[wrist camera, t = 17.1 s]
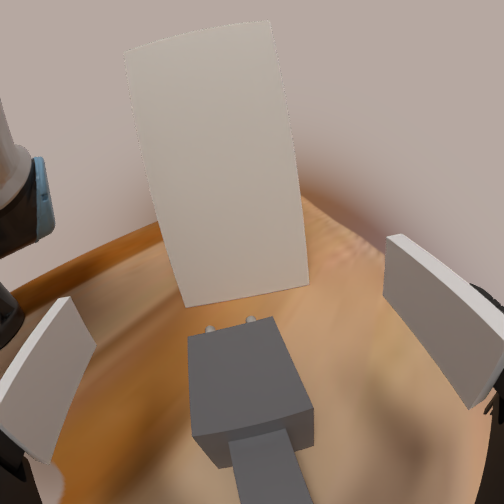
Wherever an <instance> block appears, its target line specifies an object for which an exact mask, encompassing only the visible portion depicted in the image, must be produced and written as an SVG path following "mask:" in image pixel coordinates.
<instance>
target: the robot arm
mask: <svg viewBox="0 0 504 504" xmlns="http://www.w3.org/2000/svg"><path fill="white" fill-rule="evenodd" d="M54 228H55V218H54V212H53V207H52V202H51V196H50V191H49V185H48V180H47V174H46V168H45V162H44V159H43V158H42V157H34V158H33V159H31V156H30V154H29V152H28V150H27V149H26V148H25V147H23V146H21V145H14V142H13V139H12V136H11V133H10V130H9V127H8V124H7V121H6V118H5V114H4V110H3V107H2V103H1V99H0V259H2V258H4V257H6V256H8V255H10V254H12V253H14V252H16V251H18V250H20V249H22V248H24V247H26V246H28V245H31V244H33V243H36V242H38V241H39V239H41V238H43V237H45V236H47V235H49V234H50V233H52V231H53V230H54ZM383 296H384V298H385V299H386V300H387V301H388V302H389V304H390V305H391V306H392V307H393V308H394V310H395V311H396V312H397V313H398V315H399V316H400V317H401V318H402V320H403V321H404V322H405V323H406V325H407V326H408V327H409V328H410V330H411V331H412V332H413V333H414V335H415V336H416V337H417V339H418V340H419V341H420V343H421V344H422V345H423V346H424V348H425V349H426V350H427V352H428V353H429V354H430V356H431V357H432V358H433V360H434V361H435V363H436V364H437V365H438V367H439V368H440V369H441V371H442V372H443V374H444V375H445V376H446V378H447V379H448V381H449V382H450V384H451V385H452V386H453V388H454V389H455V391H456V392H457V394H458V395H459V397H460V398H461V400H462V401H463V403H464V404H465V406H466V407H467V409H468V410H470V409H471V408H473V407H474V406H476V405H477V404H479V403H480V402H482V401H483V400H484V399H485V398H486V397H487V395H488V394H489V392H490V391H491V389H492V388H493V387H494V388H495V390H496V391H497V392H496V394H495V395H494V397H493V398H492V400H491V401H490V403H489V404H488V405H487V407H486V408H485V411H484V414H487V413H488V411H489V410H490V409H491V407H492V406H493V410H492V411H491V413H490V415H492V423H491V432H490V439H489V446H488V452H487V457H486V462H485V467H484V471H483V476H482V480H481V483H480V487H479V491H478V494H477V498H476V501H475V504H504V307H503V306H501V305H500V303H499V302H498V301H497V300H495V299H493V297H492V296H491V295H490V294H488V293H487V292H486V291H485V290H483V289H482V288H480V287H478V286H476V285H473V284H471V283H470V284H468V283H467V282H466V281H465V280H464V279H462V278H461V277H460V276H459V275H457V274H456V273H455V272H454V271H452V270H451V269H449V268H448V267H447V266H446V265H444V264H443V263H442V262H441V261H439V260H438V259H437V258H435V257H434V256H433V255H431V254H430V253H428V252H427V251H426V250H424V249H423V248H422V247H420V246H419V245H417V244H416V243H414V242H413V241H412V240H410V239H409V238H407V237H406V236H404V235H403V234H397V235H392V236H388V237H386V255H385V272H384V285H383ZM23 319H24V312H23V310H22V308H21V307H20V305H19V303H18V301H17V300H16V299H15V298H14V297H13V296H12V295H11V294H10V293H9V291H8V290H7V289H6V288H5V287H4V286H3V285H2V283H1V282H0V349H1V348H2V347H3V346H4V345H5V344H6V343H7V342H8V341H9V340H10V339H11V338H12V337H13V336H14V334H15V333H16V332H17V331H18V329H19V328H20V326H21V324H22V322H23ZM96 346H97V345H96V343H95V341H94V340H93V338H92V336H91V334H90V333H89V331H88V329H87V327H86V326H85V324H84V322H83V320H82V318H81V316H80V314H79V313H78V311H77V309H76V307H75V305H74V303H73V301H72V299H71V297H70V296H69V297H63V298H58V299H57V301H56V302H55V303H54V304H53V306H52V307H51V308H50V309H49V311H48V312H47V313H46V315H45V316H44V317H43V319H42V320H41V321H40V322H39V324H38V325H37V327H36V328H35V329H34V331H33V332H32V333H31V335H30V336H29V338H28V339H27V340H26V342H25V343H24V345H23V346H22V348H21V349H20V351H19V352H18V353H17V355H16V356H15V358H14V360H13V361H12V363H11V364H10V366H9V367H8V369H7V370H6V372H5V374H4V375H3V377H2V379H1V380H0V504H42V501H41V498H40V495H39V493H38V490H37V487H36V484H35V481H34V477H33V474H32V471H31V467H30V464H29V461H28V459H27V458H25V457H24V456H23V455H24V452H26V453H27V454H28V455H30V456H31V457H32V458H33V459H35V460H36V461H39V462H42V463H45V464H47V465H49V464H50V461H51V458H52V455H53V452H54V449H55V446H56V443H57V440H58V437H59V434H60V431H61V428H62V426H63V423H64V420H65V418H66V415H67V412H68V410H69V407H70V405H71V402H72V400H73V397H74V395H75V393H76V390H77V388H78V385H79V383H80V381H81V378H82V376H83V374H84V372H85V369H86V367H87V365H88V363H89V361H90V359H91V356H92V354H93V352H94V350H95V348H96Z"/></svg>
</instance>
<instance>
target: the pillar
mask: <svg viewBox="0 0 504 504" xmlns="http://www.w3.org/2000/svg"><path fill="white" fill-rule="evenodd" d="M124 59H125V67H126V74H127V81H128V87H129V94H130V99H131V105H132V111H133V117H134V122H135V127H136V131H137V137H138V142H139V146H140V151H141V156H142V160H143V164H144V168H145V173H146V177H147V181H148V185H149V189H150V193H151V196H152V201H153V204H154V208H155V212H156V215H157V219H158V223H159V226H160V230H161V233H162V236H163V240H164V243H165V246H166V250H167V253H168V256H169V259H170V263H171V266H172V269H173V272H174V275H175V278H176V281H177V284H178V287H179V290H180V293H181V296H182V298H183V301H184V304H185V307H186V308H187V307H193V306H199V305H205V304H211V303H217V302H223V301H229V300H234V299H240V298H245V297H250V296H256V295H261V294H266V293H271V292H276V291H281V290H286V289H291V288H296V287H301V286H305V285H310V284H309V272H308V261H307V250H306V240H305V230H304V221H303V212H302V203H301V195H300V187H299V180H298V172H297V165H296V158H295V151H294V145H293V138H292V132H291V126H290V120H289V114H288V108H287V103H286V97H285V91H284V86H283V81H282V75H281V70H280V65H279V61H278V56H277V51H276V47H275V42H274V37H273V33H272V28H271V24H270V21H258V22H248V23H240V24H232V25H226V26H219V27H213V28H208V29H203V30H198V31H194V32H189V33H184V34H180V35H176V36H172V37H169V38H165V39H162V40H158V41H155V42H151V43H148V44H145V45H142V46H139V47H136V48H134V49H130V50H128V51H125V52H124Z"/></svg>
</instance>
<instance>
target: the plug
mask: <svg viewBox="0 0 504 504" xmlns="http://www.w3.org/2000/svg"><path fill="white" fill-rule="evenodd" d="M188 373H189V396H190V414H191V428H192V437H193V438H194V440H195V441H196V442H197V443H198V445H199V446H200V447H201V448H202V450H203V451H204V452H205V453H206V455H207V456H208V457H209V458H210V459H211V460H212V462H213V463H214V464H215V465H216V466H217V467H218V469H220V468H227V467H232V466H233V470H234V474H235V479H236V484H237V489H238V493H239V498H240V502H241V504H313V502H312V500H311V497H310V494H309V492H308V489H307V486H306V484H305V481H304V478H303V475H302V473H301V470H300V467H299V464H298V462H297V459H296V456H295V453H294V452H296V451H299V450H302V449H305V448H308V447H311V446H314V408H313V406H312V403H311V401H310V399H309V397H308V395H307V392H306V390H305V388H304V386H303V383H302V381H301V379H300V377H299V375H298V372H297V370H296V368H295V366H294V363H293V361H292V359H291V357H290V354H289V352H288V350H287V348H286V346H285V343H284V341H283V339H282V337H281V334H280V332H279V330H278V328H277V325H276V323H275V321H274V319H273V316H272V317H268V318H264V319H260V320H257V321H256V318H255V317H254V316H249V317H247V318H246V323H245V324H241V325H237V326H233V327H229V328H225V329H220V330H215V327H213V326H208V327H206V328H205V333H203V334H198V335H194V336H189V337H188Z"/></svg>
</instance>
